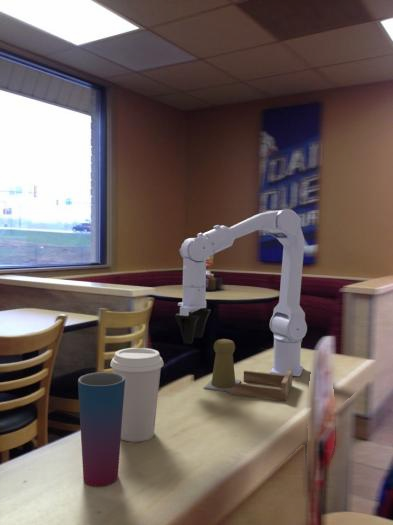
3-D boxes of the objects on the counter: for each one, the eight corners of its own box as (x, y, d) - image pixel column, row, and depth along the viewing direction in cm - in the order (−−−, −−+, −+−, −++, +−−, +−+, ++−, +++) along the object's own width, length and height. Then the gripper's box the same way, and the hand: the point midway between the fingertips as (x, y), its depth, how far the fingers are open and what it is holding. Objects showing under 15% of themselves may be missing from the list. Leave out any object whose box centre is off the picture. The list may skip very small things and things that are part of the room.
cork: (236, 381, 118) (237, 337, 117) (234, 389, 112) (235, 343, 111) (212, 379, 119) (213, 336, 118) (209, 387, 113) (210, 341, 112)
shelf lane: (244, 380, 120) (244, 364, 120) (292, 385, 116) (292, 369, 116) (232, 394, 109) (233, 377, 109) (285, 401, 105) (285, 383, 105)
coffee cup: (171, 429, 88) (173, 350, 87) (145, 450, 79) (146, 362, 79) (128, 420, 92) (129, 344, 91) (98, 439, 83) (99, 355, 83)
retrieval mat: (214, 378, 121) (214, 377, 121) (241, 381, 119) (241, 380, 119) (203, 388, 113) (203, 387, 113) (232, 392, 110) (232, 391, 110)
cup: (81, 467, 73) (81, 372, 72) (125, 466, 74) (126, 371, 73) (73, 490, 66) (74, 385, 66) (122, 489, 67) (123, 385, 66)
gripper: (188, 282, 125) (187, 333, 126) (168, 288, 111) (167, 344, 112) (214, 284, 123) (213, 335, 124) (196, 289, 109) (195, 347, 110)
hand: (193, 340), depth 118 cm, fingers open, 7 cm apart
